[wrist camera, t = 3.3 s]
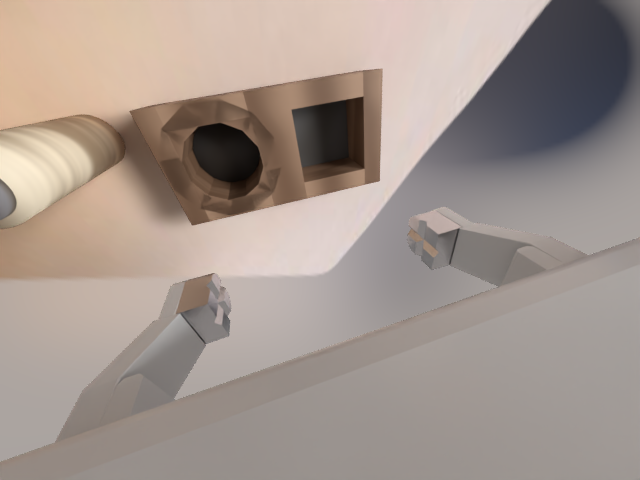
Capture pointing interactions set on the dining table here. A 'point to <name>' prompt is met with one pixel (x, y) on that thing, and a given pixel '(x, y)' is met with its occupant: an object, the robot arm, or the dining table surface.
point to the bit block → (267, 143)
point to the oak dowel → (52, 162)
